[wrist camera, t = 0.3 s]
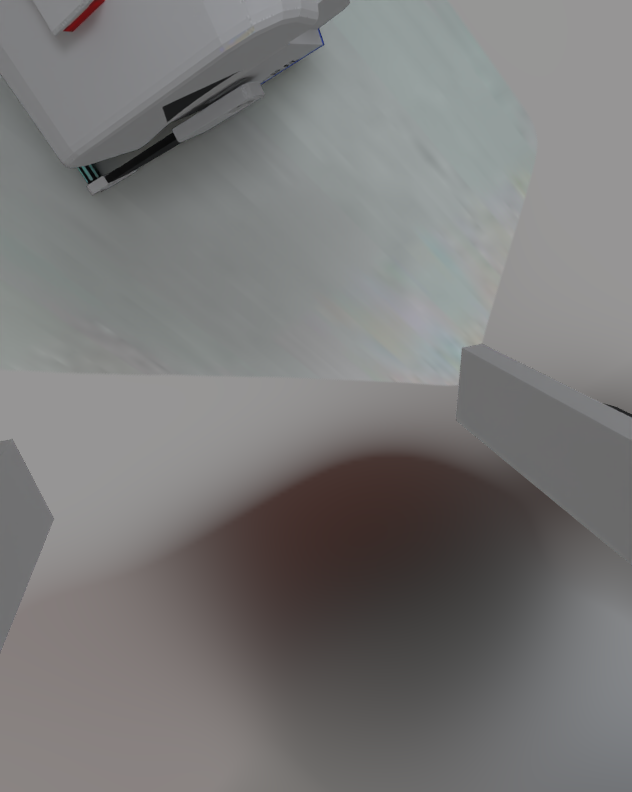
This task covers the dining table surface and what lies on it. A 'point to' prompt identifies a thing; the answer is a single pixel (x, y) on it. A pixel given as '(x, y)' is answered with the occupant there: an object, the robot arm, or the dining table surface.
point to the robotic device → (146, 68)
